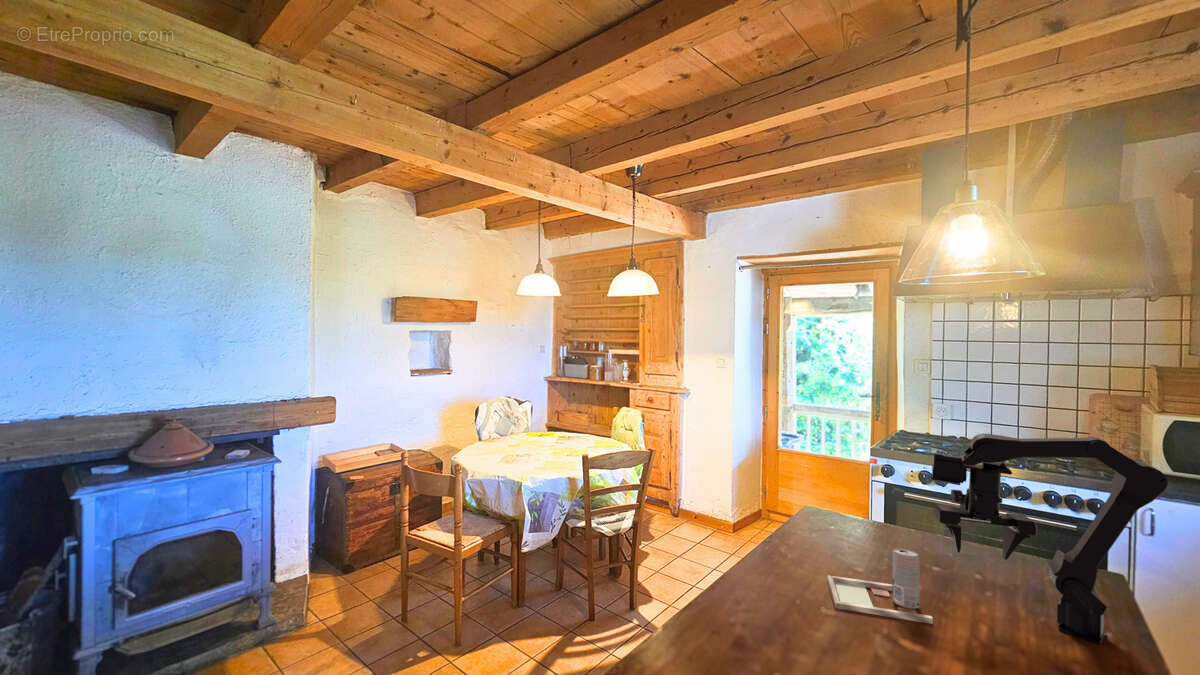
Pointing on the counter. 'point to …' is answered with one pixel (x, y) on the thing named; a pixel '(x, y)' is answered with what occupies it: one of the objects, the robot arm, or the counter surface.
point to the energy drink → (906, 578)
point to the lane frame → (877, 590)
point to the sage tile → (853, 594)
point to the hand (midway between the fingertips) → (981, 555)
